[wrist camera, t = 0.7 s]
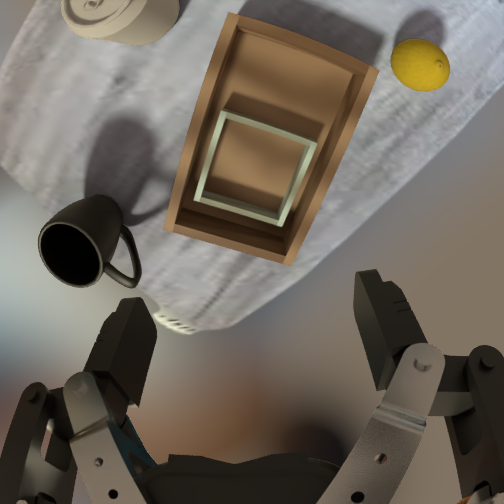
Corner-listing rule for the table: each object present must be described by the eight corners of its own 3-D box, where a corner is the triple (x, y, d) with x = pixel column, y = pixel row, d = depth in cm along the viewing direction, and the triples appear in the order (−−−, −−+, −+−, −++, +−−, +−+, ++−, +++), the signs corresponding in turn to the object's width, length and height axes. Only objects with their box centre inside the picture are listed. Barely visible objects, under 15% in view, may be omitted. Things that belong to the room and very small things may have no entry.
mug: (143, 267, 40) (120, 316, 32) (68, 223, 36) (32, 263, 28) (170, 221, 36) (148, 267, 28) (87, 172, 33) (45, 205, 25)
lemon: (385, 33, 24) (421, 25, 17) (427, 54, 25) (469, 55, 18) (373, 76, 27) (407, 79, 20) (416, 95, 28) (455, 105, 21)
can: (192, -11, 22) (160, -50, 12) (167, 51, 26) (122, 42, 16) (127, -19, 21) (73, -50, 11) (105, 41, 25) (41, 35, 14)
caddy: (232, 21, 24) (228, 12, 20) (361, 70, 27) (379, 70, 23) (173, 209, 35) (163, 229, 31) (286, 242, 38) (291, 266, 34)
